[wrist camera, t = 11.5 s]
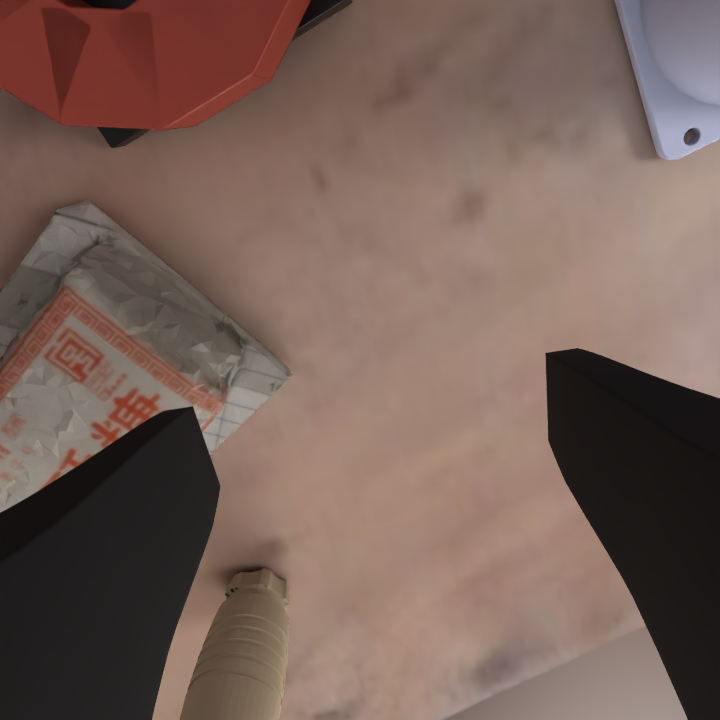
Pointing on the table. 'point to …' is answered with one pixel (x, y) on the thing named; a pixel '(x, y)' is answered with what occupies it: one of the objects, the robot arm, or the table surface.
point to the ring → (141, 57)
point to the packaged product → (111, 352)
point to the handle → (243, 653)
